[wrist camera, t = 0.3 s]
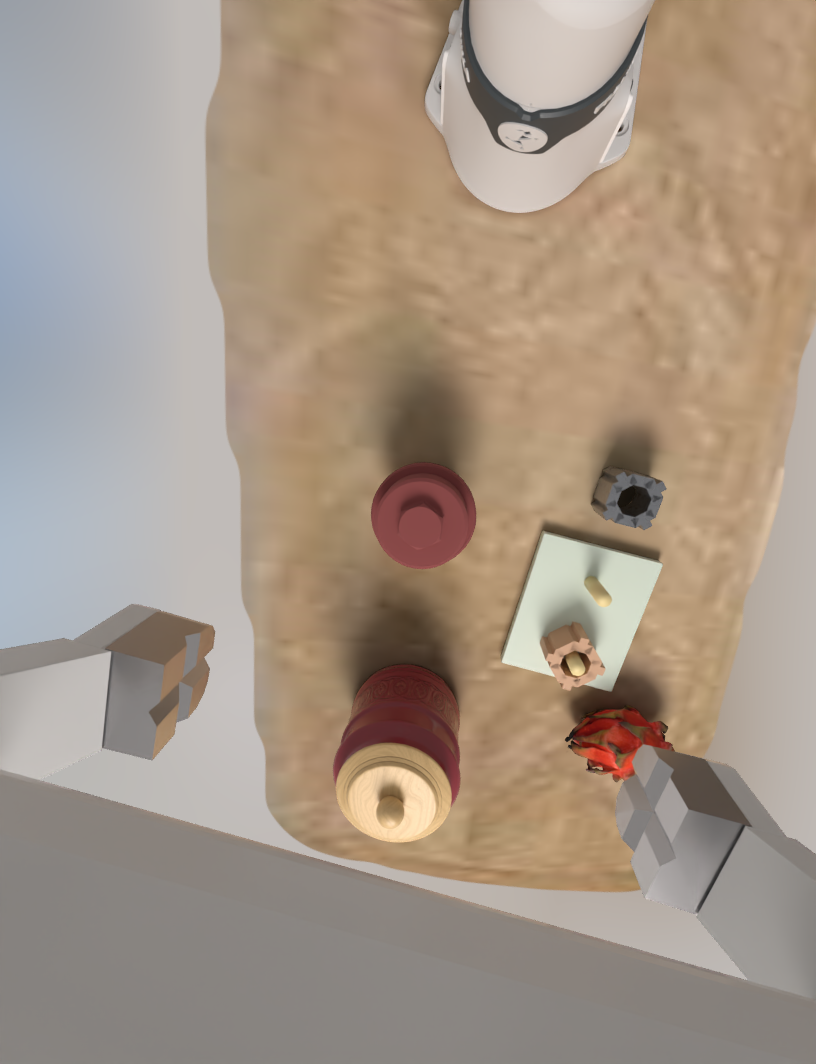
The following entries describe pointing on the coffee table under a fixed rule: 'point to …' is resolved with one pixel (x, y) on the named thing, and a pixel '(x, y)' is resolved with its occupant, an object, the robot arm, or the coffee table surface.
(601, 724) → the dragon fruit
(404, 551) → the mechanical component
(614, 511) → the loose gear
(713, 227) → the coffee table surface
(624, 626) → the gear board
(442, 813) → the canister
